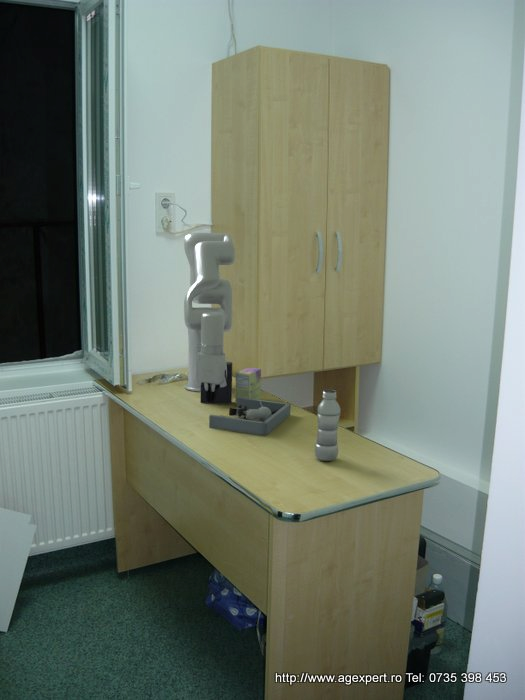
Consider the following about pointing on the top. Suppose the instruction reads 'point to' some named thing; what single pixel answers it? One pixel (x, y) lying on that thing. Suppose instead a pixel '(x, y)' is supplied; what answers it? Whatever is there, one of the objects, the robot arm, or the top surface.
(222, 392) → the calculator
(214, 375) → the robot arm
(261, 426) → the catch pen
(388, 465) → the top surface
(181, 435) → the top surface
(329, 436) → the plastic bottle
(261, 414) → the clip-on lamp
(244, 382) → the box
